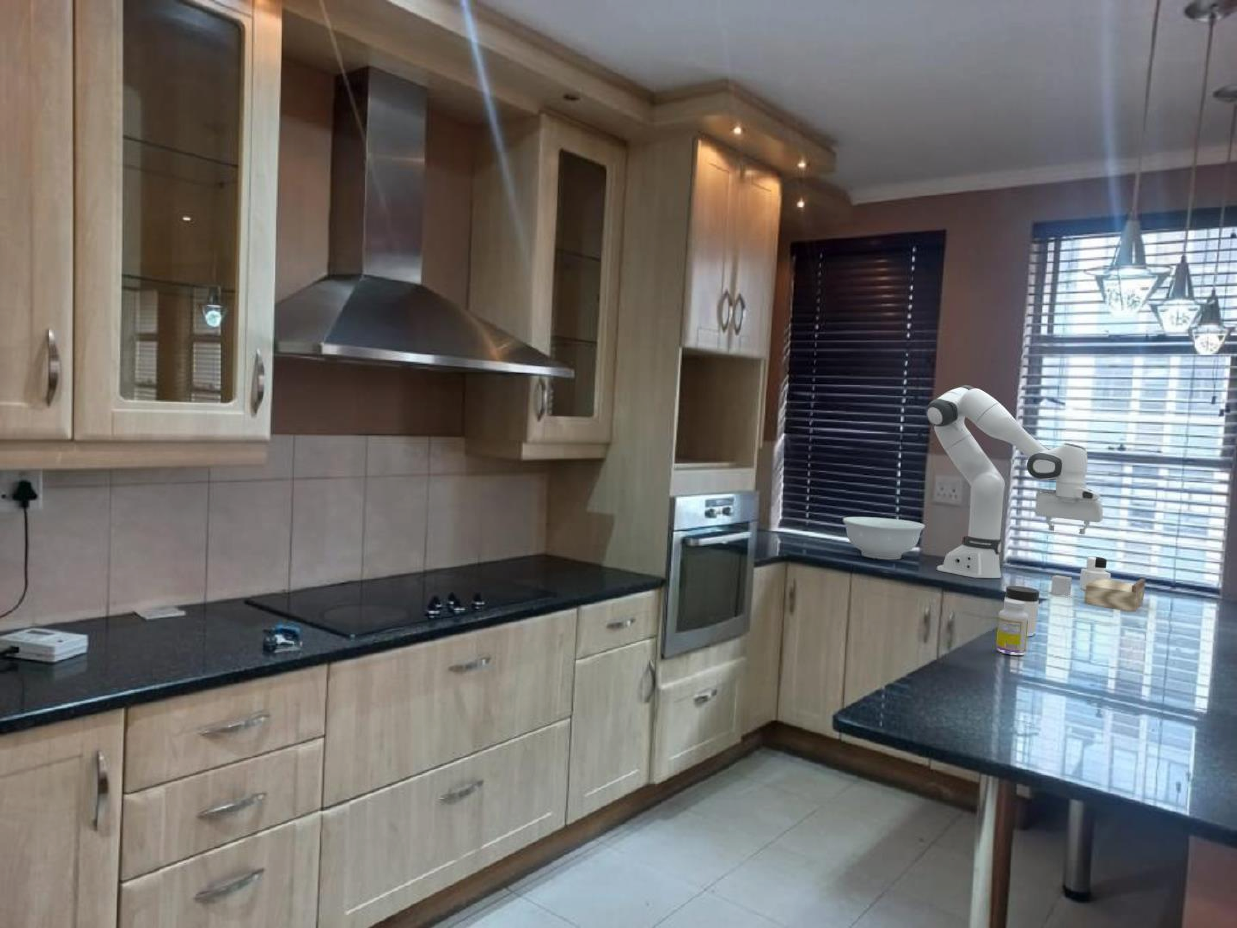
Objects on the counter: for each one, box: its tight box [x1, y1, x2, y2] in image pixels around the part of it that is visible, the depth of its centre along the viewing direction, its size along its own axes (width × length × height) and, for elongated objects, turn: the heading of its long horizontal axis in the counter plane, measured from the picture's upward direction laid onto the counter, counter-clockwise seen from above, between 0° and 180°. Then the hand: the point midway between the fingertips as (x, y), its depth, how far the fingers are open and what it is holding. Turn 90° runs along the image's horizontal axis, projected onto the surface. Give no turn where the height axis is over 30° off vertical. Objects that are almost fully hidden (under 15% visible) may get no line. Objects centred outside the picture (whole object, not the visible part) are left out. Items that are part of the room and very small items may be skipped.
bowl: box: [842, 516, 926, 561], centre depth 350 cm, size 32×32×15 cm
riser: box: [1083, 578, 1146, 613], centre depth 281 cm, size 14×20×8 cm
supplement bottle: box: [995, 599, 1028, 653], centre depth 209 cm, size 7×7×13 cm
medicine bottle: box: [1079, 556, 1112, 592], centre depth 301 cm, size 7×7×12 cm
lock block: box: [1050, 574, 1073, 597], centre depth 291 cm, size 5×5×6 cm
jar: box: [1003, 585, 1040, 633], centre depth 231 cm, size 9×8×12 cm
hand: (1066, 532), depth 290 cm, fingers open, 8 cm apart
